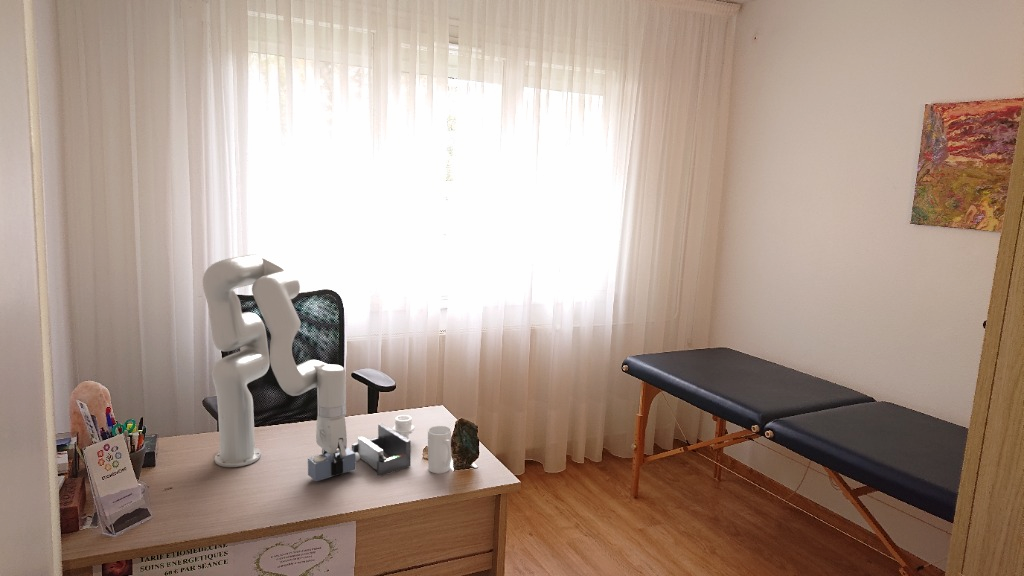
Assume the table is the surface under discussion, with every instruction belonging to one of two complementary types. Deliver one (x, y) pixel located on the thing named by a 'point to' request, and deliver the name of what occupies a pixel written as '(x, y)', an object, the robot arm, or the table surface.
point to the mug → (439, 449)
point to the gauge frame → (390, 450)
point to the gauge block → (322, 464)
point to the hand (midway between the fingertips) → (332, 470)
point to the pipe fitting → (403, 425)
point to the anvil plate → (370, 452)
